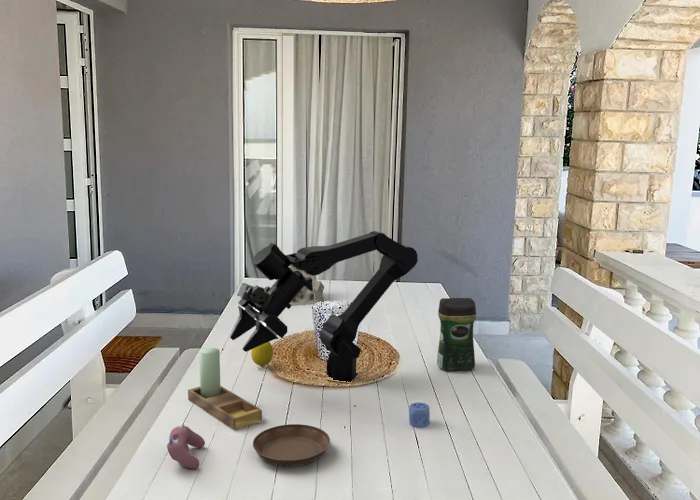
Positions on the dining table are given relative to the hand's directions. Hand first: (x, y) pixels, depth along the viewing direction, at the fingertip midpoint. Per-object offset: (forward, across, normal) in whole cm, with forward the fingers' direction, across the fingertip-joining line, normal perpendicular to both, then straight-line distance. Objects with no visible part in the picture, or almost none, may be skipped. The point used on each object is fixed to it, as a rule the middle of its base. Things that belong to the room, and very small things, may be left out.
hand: (237, 344), depth 156 cm
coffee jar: (-31, +6, +49) cm, 58 cm away
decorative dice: (-12, +30, +30) cm, 44 cm away
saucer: (+9, +31, +10) cm, 33 cm away
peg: (+14, 0, +4) cm, 14 cm away
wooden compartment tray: (+12, +6, +5) cm, 15 cm away
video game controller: (+22, +24, -4) cm, 33 cm away
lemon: (+1, -16, +17) cm, 23 cm away
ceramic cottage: (-23, -74, +41) cm, 87 cm away
